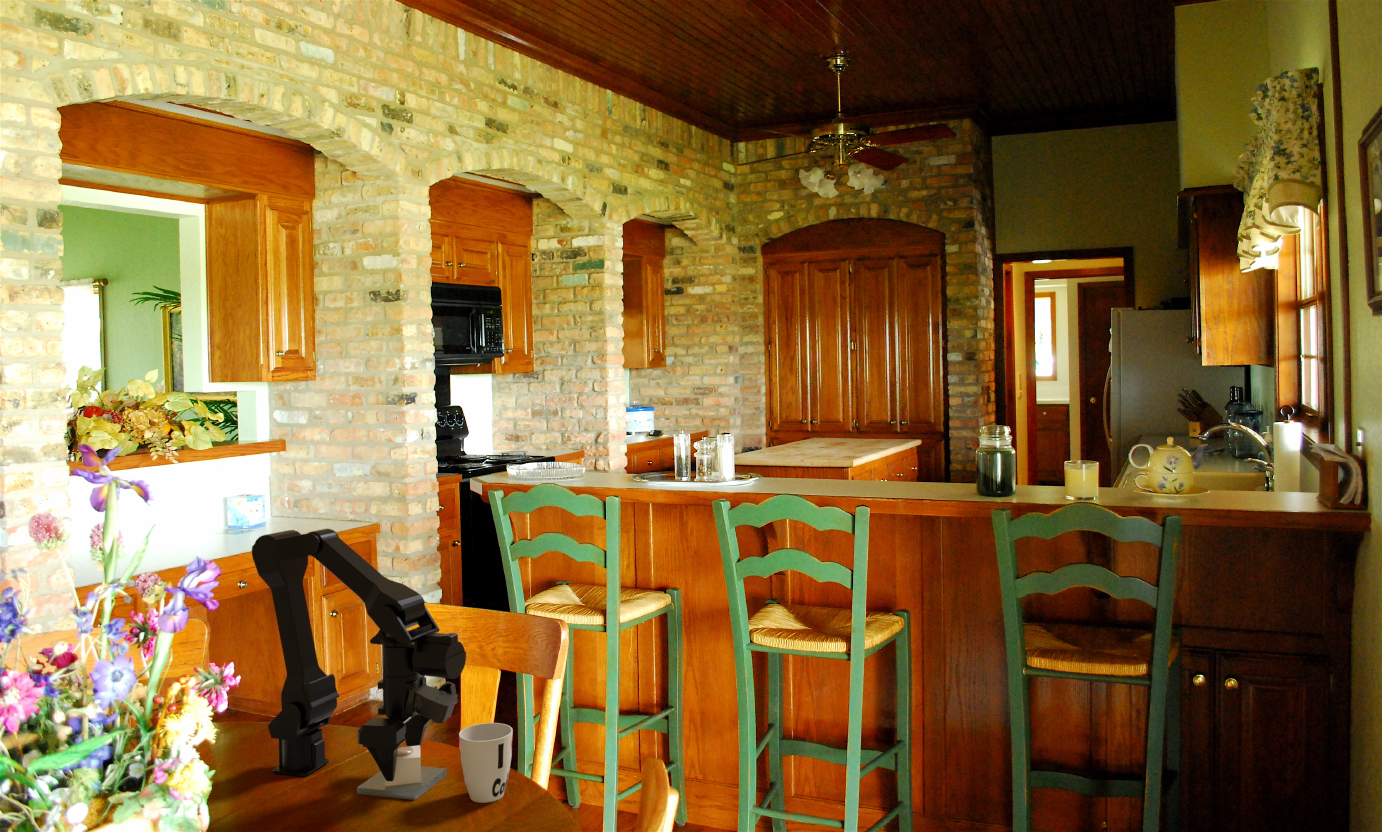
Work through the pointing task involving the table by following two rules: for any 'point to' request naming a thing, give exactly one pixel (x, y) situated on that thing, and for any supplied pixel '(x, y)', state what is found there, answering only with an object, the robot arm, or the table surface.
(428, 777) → the post fixture
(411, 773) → the cap
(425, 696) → the robot arm
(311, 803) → the table surface
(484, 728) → the cup
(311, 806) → the table surface
